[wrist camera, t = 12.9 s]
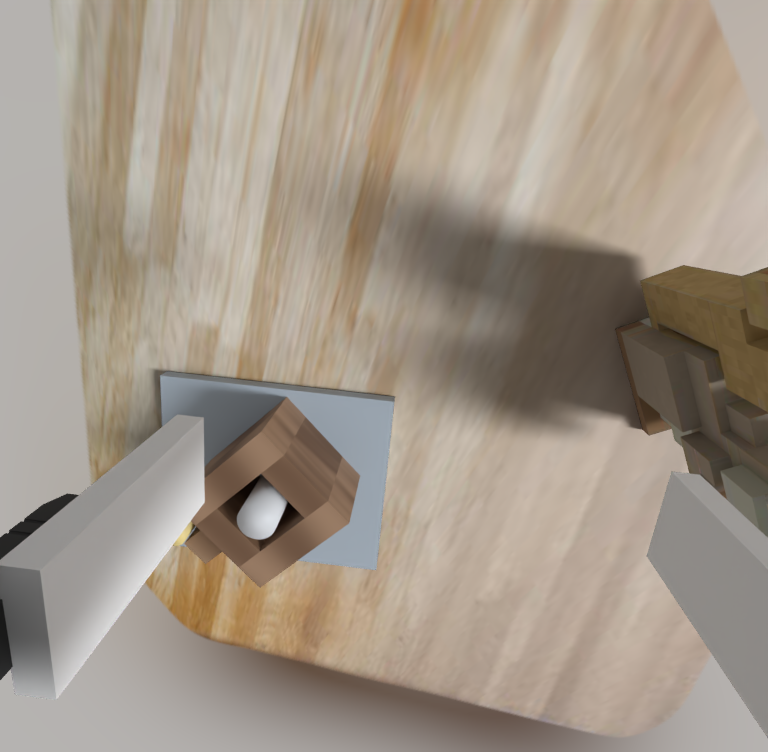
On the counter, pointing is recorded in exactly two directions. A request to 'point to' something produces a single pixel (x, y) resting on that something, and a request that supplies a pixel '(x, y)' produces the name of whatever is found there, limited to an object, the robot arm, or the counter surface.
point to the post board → (329, 416)
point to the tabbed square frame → (292, 480)
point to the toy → (707, 377)
